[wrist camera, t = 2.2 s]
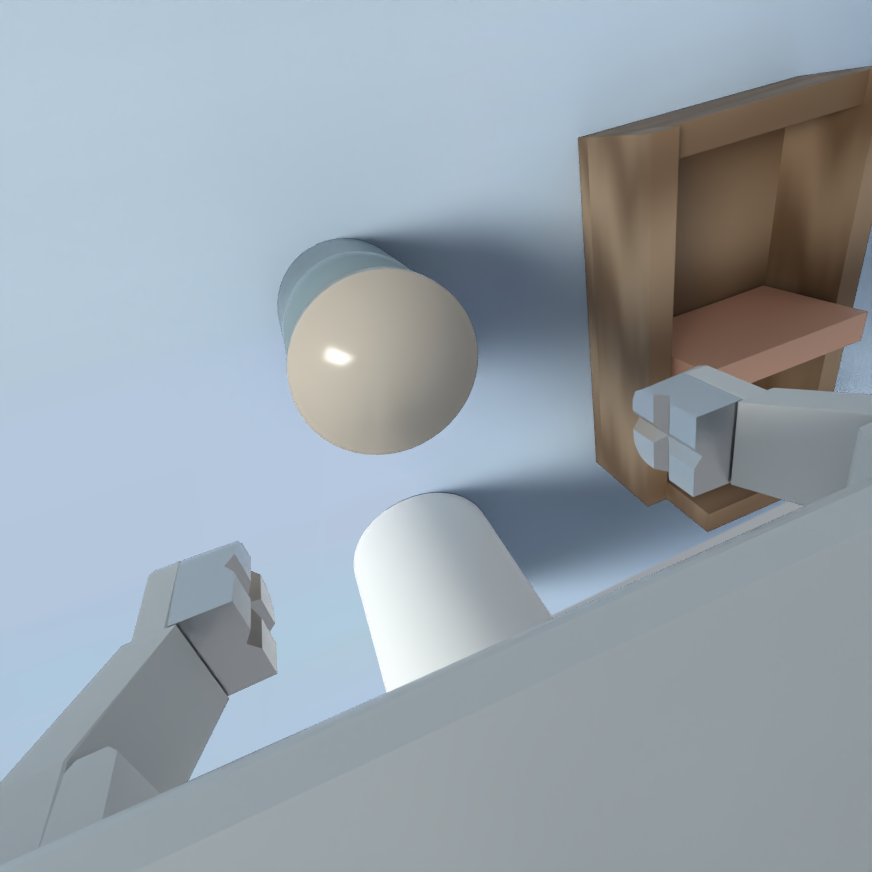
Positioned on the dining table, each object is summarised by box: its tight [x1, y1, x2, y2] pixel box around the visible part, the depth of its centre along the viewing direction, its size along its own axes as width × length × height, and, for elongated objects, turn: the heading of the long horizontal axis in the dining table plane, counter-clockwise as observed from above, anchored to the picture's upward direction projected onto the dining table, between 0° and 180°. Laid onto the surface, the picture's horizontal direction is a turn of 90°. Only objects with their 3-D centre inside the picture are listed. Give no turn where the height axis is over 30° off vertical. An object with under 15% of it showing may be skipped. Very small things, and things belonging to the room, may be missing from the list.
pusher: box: [671, 285, 868, 383], centre depth 22 cm, size 1×7×5 cm, turn 103°
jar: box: [277, 238, 478, 455], centre depth 17 cm, size 5×5×6 cm
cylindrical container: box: [354, 493, 553, 692], centre depth 16 cm, size 7×7×25 cm
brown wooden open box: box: [578, 66, 872, 532], centre depth 21 cm, size 15×10×7 cm, turn 12°
